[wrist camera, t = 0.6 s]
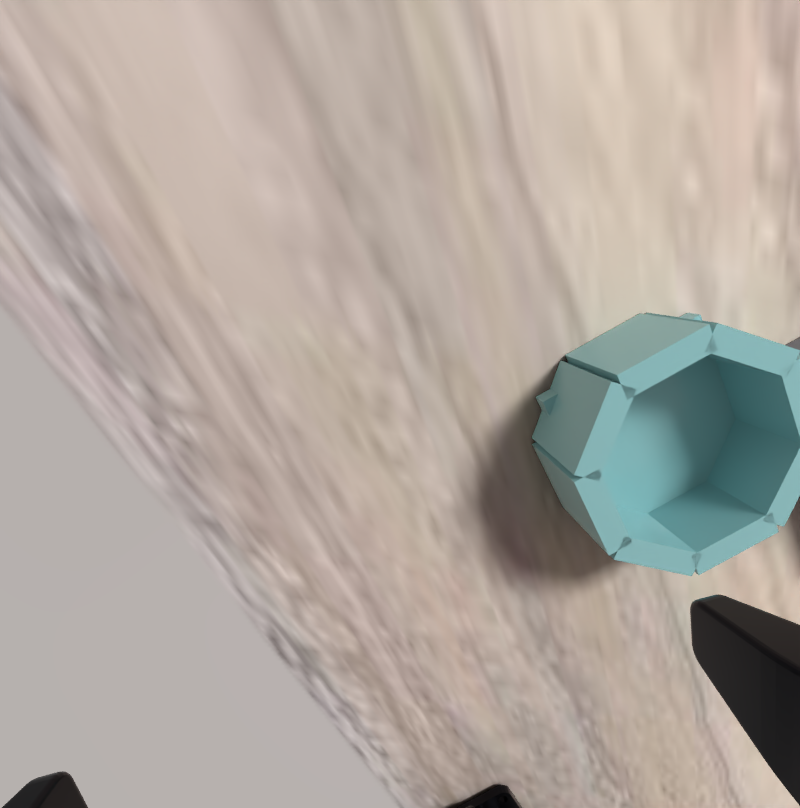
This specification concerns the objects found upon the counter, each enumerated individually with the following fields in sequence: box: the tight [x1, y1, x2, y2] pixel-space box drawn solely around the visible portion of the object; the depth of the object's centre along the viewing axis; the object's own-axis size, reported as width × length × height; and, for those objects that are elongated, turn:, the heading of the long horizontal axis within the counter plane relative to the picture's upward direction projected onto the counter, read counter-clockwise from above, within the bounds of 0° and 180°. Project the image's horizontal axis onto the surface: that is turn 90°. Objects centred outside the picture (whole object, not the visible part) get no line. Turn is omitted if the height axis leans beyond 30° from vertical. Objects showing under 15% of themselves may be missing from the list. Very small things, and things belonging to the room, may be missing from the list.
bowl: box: [532, 313, 800, 576], centre depth 20 cm, size 9×9×4 cm
